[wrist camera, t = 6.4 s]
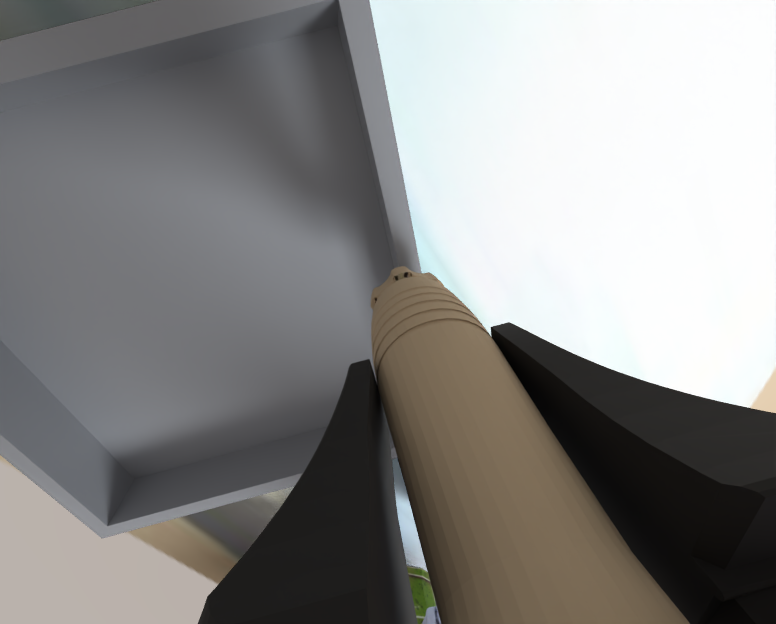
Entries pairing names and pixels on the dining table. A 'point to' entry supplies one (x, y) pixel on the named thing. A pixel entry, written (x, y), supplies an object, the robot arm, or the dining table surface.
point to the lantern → (421, 591)
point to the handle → (494, 477)
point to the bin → (189, 248)
